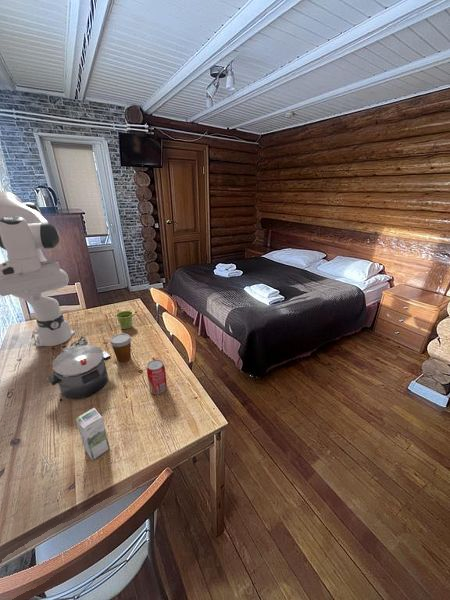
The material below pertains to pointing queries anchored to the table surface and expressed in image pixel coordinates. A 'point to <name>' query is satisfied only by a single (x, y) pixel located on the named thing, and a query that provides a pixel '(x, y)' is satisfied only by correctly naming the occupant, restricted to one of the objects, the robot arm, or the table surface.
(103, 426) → the syrup box
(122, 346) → the disposable coffee cup
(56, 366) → the cooker lid
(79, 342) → the brown half-round piece
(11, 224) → the robot arm
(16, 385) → the table surface
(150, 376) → the soda can
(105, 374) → the cooker pot
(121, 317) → the plant pot
